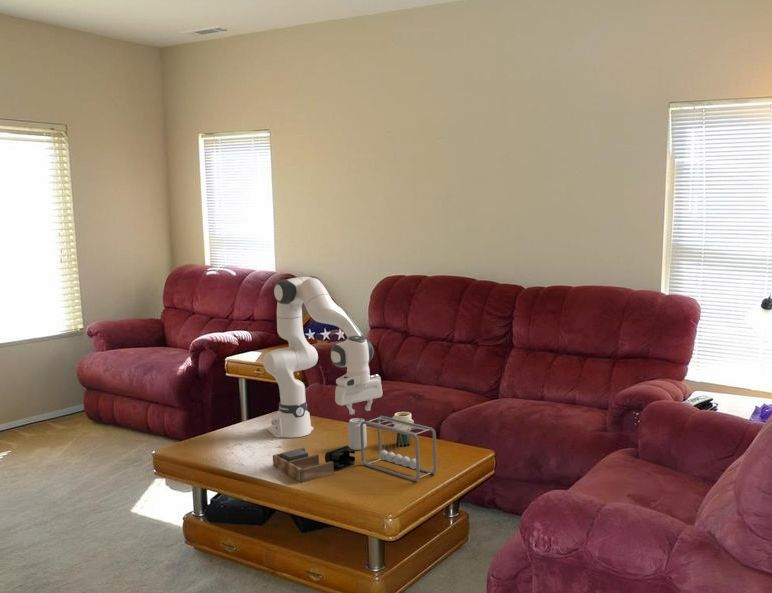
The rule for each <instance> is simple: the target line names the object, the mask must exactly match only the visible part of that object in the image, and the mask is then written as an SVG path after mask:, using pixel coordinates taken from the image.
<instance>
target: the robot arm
mask: <svg viewBox="0 0 772 593" xmlns="http://www.w3.org/2000/svg"><path fill="white" fill-rule="evenodd" d="M323 284H324V283H323V282H322V280H321V279H320V278H319V277H317V276H314V275H313V276H312V275H311V276H297V277H293V278H288V279H281V280H278V281H277V282H276V283H275V285H274V286H273V295H274V299H275V300H276V302H277V304H276V328H277V329H276V330H277V331H276V332H277V334H278V336H279V338H281V339H283V340H285V341H287V342H288V347H282V348H276V349H273V350H270V351H268V352H266V353H265V354H264V357H263V359H262V360H263V361H262V365H263V368H264V370H265V371H266V372H267V373H268V374H269V375H271V376H272V377H273V378H274V379H275V380H276V382H277V385H278V390H279V397H280V401H279V403H278V411H277V413H275V414H274V415H273V416H272V419H271V425H269V426H268V427H267V429H266V430H267V431H269V433H270V434H272V435H273V436H274V437H275V438H288V439H289V438H292V439H293V438H301V437H304V436H307V435H310V434H311V432H312V431H314V426H312V424H311V417H310V416H311V415H310V411H308V403H307V400H306V399H307V398H306V386H305V383H304V382H302V380H299V379H297V378H295V375H294V372H300V371H305V370H308V369H311V368H312V367H314V366H316V365H317V363H318V360H319V355H318V351H317V349H316V347H314V346H313V345H312V344H310V342H308V340H307V338H306V336H305V333H304V327H303V326H304V325H303V310H302V309H303V307H302V306H303V304H304V307H305V308H306V309H305V310H306V311H307V312H308V315H309V316H310V317H311V319H312V320H314V321H315V322H317V323H320V324H326V325H331V326H335V327H337V328H339V329H341V330H342V332H343V333H344V334H345V336H346V337H347V338H346V339H345V340H344V341H342V342H338V343H335V344H334V345H332V347H331V349H330V354H329V358H330V360H331V363H332V364H333V365H334V366H335V367H337V368H347V369H346V373H345V374H344V375H343V374H342V376H340V377H338V378H337V379H336V380H335V384H336V387H335V393H334V394H335V395H334V396H335V397H334V401H335V403H336V404H337V405H338V406H342V407H343V406H346V407H347V409H348V411H349V412H348V413H349V415H356V413H355V412H356V410H355V409H353V404H356V403H360V402H365V401H366V402H367V403H366V405H365V406H364V410H365V411H366V412H368V411H369V412H370V411H371V406H372V404H373V402H374V401H373V400H374V399H375V400H376V399H378V398H382V396H383V388H382V378H381V376H380V375H379V374H378V373H377V374H372V375H370V374H371V372H370V366H369V363H370V362H371V360H373V357H374V354H375V348H374V345H373V344H372V343H371V341H370V340H369V339H368V338H367V337H366V336H365V335H364V334H363V332H362V331H361V330H360V328H358V326H357V324H356V322H354V320H353V319H352V317H351V316H350V315H349V313H348V312H347V311H346V310H344V309H343V308H341V307H340V306H339V305H337V303H336V302H335V301H334V300H333V299H332V297H331V296H330V293H329V292H328V290H327V288H326V287H325V286H324V285H323Z"/></svg>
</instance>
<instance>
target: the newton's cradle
mask: <svg viewBox="0 0 772 593" xmlns="http://www.w3.org/2000/svg"><path fill="white" fill-rule="evenodd" d="M376 420H377V422H375V421H376ZM373 421H374V422H373ZM381 421H382V422H381ZM384 422H390V423H386V424H381V423H384ZM393 423H397V424H401V425H406V426H410V427H413V428H411V429H410V430H409V427H408V431H406V430H402V429H398V428H395V426H389V425H392V424H393ZM363 424H366V426H371V427H373V428H377V441H378V442H377V443H378V447H377V448H378V459H376V460H374V461H370V462H366V460H365V448H364V436H363ZM382 429H383V430H385V435H384V439H386V440H387V441H389V439H388V437H387V436H388V433H387V431H389V432H392V438H391V442H393V441H394V442H396V440H395V437H394V436H395V435H394V433H396V434H397V433H400V436H401V434H405V435H408V437H407V442H408V438H409V436H410V437H413V438H414V441H415V442H414V444H415V449H414V452H412V447H411V445H409V449H410V453H411V455H413V456H411V457H412V458H411V459H410V457H409V456H407V455H406V454H403V456H402V454H400V451H397V448H395V451H396V454H395V453H394V452H393V446H391V448H388V449H389V452H388V451H387V450H385V448H386V443H384V444H382V432H381V430H382ZM414 429H415V430H417V429H418V430H422V431H420V432H414V431H412V430H414ZM427 431H431V433H432V455H433V456H432V458H433V459H432V460H433V461H432V462H433V464H432V465H433V470H431V469H430V470H428V469H426V468H424V467H423V468H422V467H420V449H419V448H420V444H419V437H418V435H419V434H422V433H425V432H427ZM360 434H361V450H360V454H361V456H360V457H361V459H360V460H361V462H362V465H363V466H365V467H367V468H371V469H374V470H378V471H380V472H383V473H387V474H390V475H394V476H396V477H400V478H403V479H406V480H409V481H412V482H418V481H419V480H420V479H421V478H424V477H426V476H428V475H435V474H436V472H437V471H438V470H437V469H438V467H437V466H438V465H437V435H436V434H437V433H436V430H435V429H434V428H432V427H431V426H430V427H429V426H426V425H421V424H417V423H410V422H406V421H402V420H398V419H393V417H389V416H385V415H379V416H378V417H377V418H373V419H370V420H364V421H363V422H361V424H360ZM393 439H394V440H393ZM401 440H402V438H401ZM409 443H410V441H409ZM387 444H388V447H390V444H389V442H387ZM410 444H411V443H410ZM382 445H383V446H384V447H383V446H382ZM394 445H395V447H397V443H394ZM400 446H402V447H404V445H403V444H402V445H400V442H399V445H398V447H400ZM407 448H408V447H406V448H405V449H406V450H404V448H402V451H403V453H407V451H408V449H407ZM414 456H415V457H414ZM381 460H382V461H387V462H389V463H394V464H396V465H400V466H402V467H406V468H411V469H412V470H416V471H415V472H416V477H413V476H409V475H406V474H403V473H401V472H396V471H393V470H390V469H387V468H383V467H380V466H377V465H374V464H373V463H375V462H379V461H381ZM421 472H423V473H426V474H423V475H422V476H420V475H421V474H420V473H421Z"/></svg>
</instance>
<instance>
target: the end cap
mask: <svg viewBox="0 0 772 593" xmlns="http://www.w3.org/2000/svg"><path fill="white" fill-rule="evenodd" d="M351 454H354V455H355V454H356V450H353V449H351V448H350V447H349V445H343V446H340V447H337V448H336V449H335V448H334V449H332V450H329V451H327V452H326V453H325V454H324V463H327V462H331V461H332V462H333V468H334V470H335V471H339V472H340V471H341V470H344V469H347V468H350V467H352V466H355V461H356V456H354V455H351Z"/></svg>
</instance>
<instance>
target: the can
mask: <svg viewBox="0 0 772 593" xmlns="http://www.w3.org/2000/svg"><path fill="white" fill-rule="evenodd" d="M363 421H365V419H364V418H362V417H361V418H360V417H356V418H351V419H349V422H348V423H347V430H348V431H347V433H348V435H347V436H348V448H350V449H353V450H355V451H361V434H360V424H361V422H363ZM363 436H364V449H366V447H367V446H368V441H367V440H368V438H367V436H368V434H367V425H366V424H363Z"/></svg>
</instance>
